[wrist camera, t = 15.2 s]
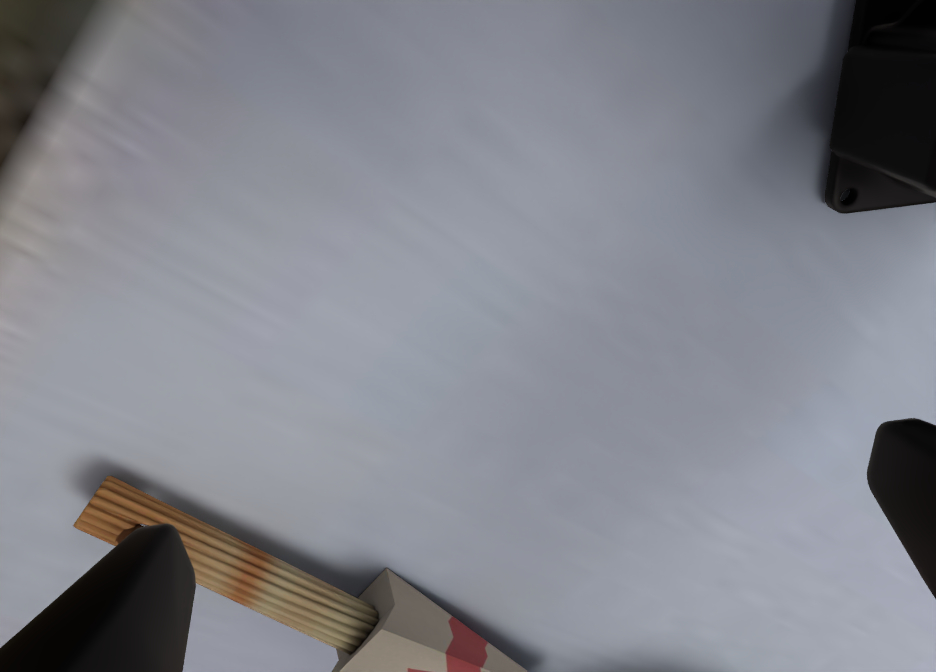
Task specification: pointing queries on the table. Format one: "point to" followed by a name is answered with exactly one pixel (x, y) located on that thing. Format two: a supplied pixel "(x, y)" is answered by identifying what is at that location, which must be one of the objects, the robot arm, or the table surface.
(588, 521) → the table surface
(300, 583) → the paintbrush
